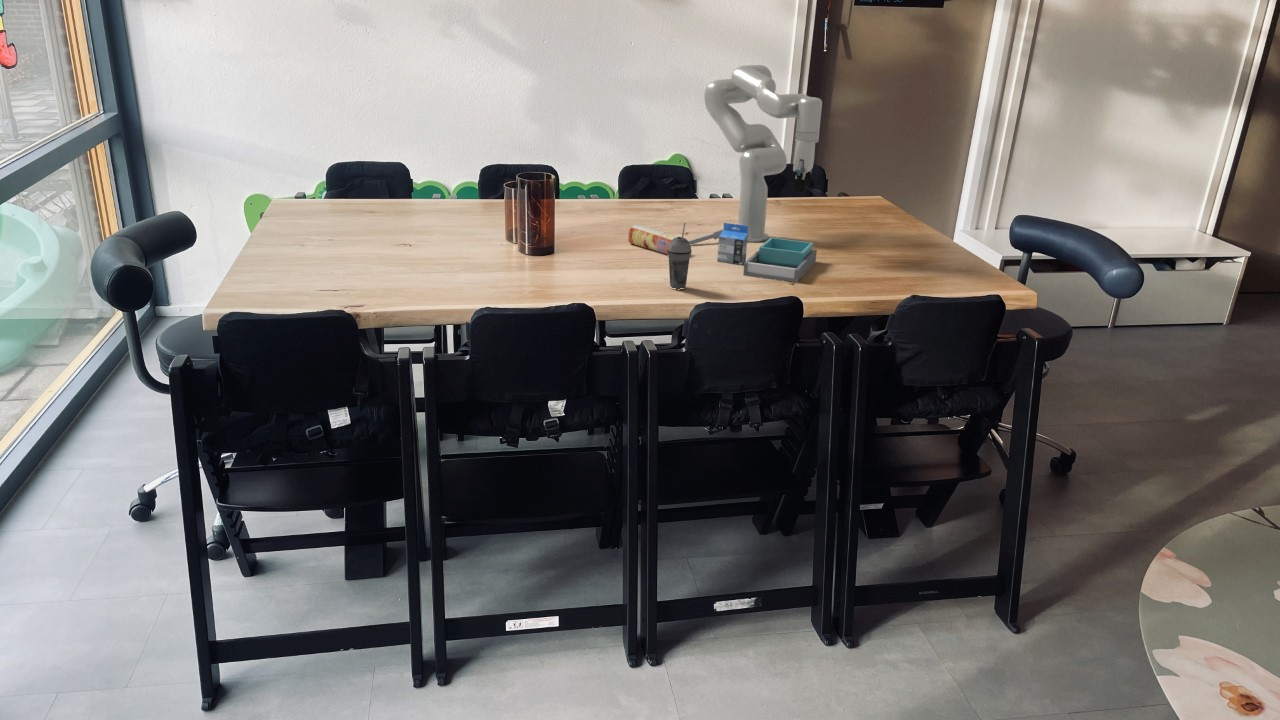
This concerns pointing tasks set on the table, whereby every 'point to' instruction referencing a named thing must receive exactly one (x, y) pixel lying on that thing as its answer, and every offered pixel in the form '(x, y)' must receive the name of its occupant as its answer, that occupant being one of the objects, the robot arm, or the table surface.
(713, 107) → the robot arm
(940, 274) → the table surface
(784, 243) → the teal square tray
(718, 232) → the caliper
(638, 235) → the snack package
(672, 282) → the beverage cup
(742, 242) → the label tape box
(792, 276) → the bay
